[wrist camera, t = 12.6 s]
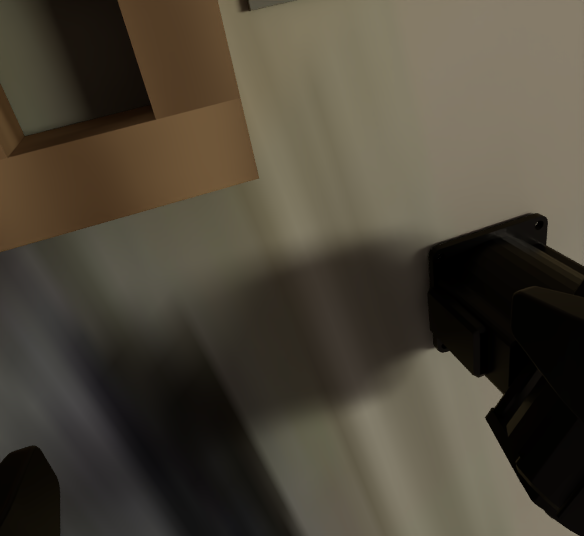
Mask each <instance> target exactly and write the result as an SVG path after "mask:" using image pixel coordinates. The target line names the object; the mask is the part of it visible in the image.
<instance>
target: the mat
mask: <svg viewBox="0 0 584 536" xmlns="http://www.w3.org/2000/svg"><path fill="white" fill-rule="evenodd" d="M290 1H295V0H247V3H248V8H249V11H251V10H256V9H260V8H264V7H269V6H273V5H277V4H282V3H286V2H290Z"/></svg>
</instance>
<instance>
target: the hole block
mask: <svg viewBox="0 0 584 536" xmlns="http://www.w3.org/2000/svg"><path fill="white" fill-rule="evenodd" d="M118 3H119V7H120V10H121V13H122V16H123V19H124V22H125V25H126V28H127V31H128V34H129V37H130V41H131V44H132V47H133V50H134V53H135V56H136V59H137V62H138V65H139V68H140V72H141V75H142V78H143V81H144V84H145V87H146V90H147V93H148V96H149V99H150V103H151V105H147V106H143V107H139V108H135V109H131V110H128V111H124V112H120V113H116V114H112V115H108V116H104V117H100V118H96V119H92V120H88V121H84V122H80V123H76V124H72V125H68V126H64V127H60V128H56V129H52V130H48V131H44V132H40V133H36V134H32V135H28V136H24V134H23V132H22V129H21V127H20V125H19V123H18V121H17V119H16V116H15V114H14V112H13V110H12V108H11V106H10V103H9V101H8V99H7V97H6V95H5V93H4V90H3V88H2V86H1V84H0V252H3V251H6V250H10V249H13V248H17V247H20V246H24V245H27V244H31V243H34V242H38V241H41V240H45V239H48V238H52V237H55V236H59V235H62V234H66V233H69V232H73V231H76V230H80V229H83V228H87V227H90V226H94V225H97V224H101V223H104V222H108V221H111V220H115V219H118V218H122V217H125V216H129V215H132V214H136V213H139V212H143V211H146V210H150V209H153V208H157V207H160V206H164V205H167V204H171V203H174V202H178V201H181V200H185V199H188V198H192V197H195V196H199V195H202V194H206V193H209V192H213V191H216V190H220V189H223V188H227V187H230V186H234V185H237V184H241V183H244V182H248V181H251V180H255V179H258V178H259V176H258V172H257V167H256V163H255V159H254V154H253V150H252V146H251V142H250V137H249V133H248V129H247V125H246V120H245V116H244V112H243V107H242V103H241V99H240V95H239V90H238V86H237V82H236V78H235V73H234V69H233V65H232V60H231V56H230V52H229V48H228V43H227V39H226V35H225V31H224V26H223V22H222V18H221V13H220V9H219V5H218V1H217V0H118Z"/></svg>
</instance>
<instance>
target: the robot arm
mask: <svg viewBox="0 0 584 536" xmlns="http://www.w3.org/2000/svg"><path fill="white" fill-rule="evenodd" d="M537 222H538V223H537ZM536 223H537V225H536V226H535V224H536ZM547 225H548V221H547V218H546V217H545V216H543V215H541V214H538V213H535V214H532V215H528V216H525V217H522V218H519V219H516V220H513V221H510V222H507V223H504V224H501V225H498V226H495V227H492V228H489V229H486V230H483V231H480V232H477V233H474V234H470V235H467V236H464V237H461V238H458V239H455V240H452V241H449V242H446V243H443V244H440V245H437V246H435V247H433V248H432V249H431V250H430V252H429V256H428V261H429V278H430V288H429V291H428V306H429V322H430V330H431V332H432V333H433V343H434V346H435V348H436V349H437V350H438V351H439V352H442V353H444V352H447V351H450V352H451V353H452V354H453V355H454V356H455V357H456V358H457V359H458V360H459V361H460V362H461V363H462V364H463V365H464V366H465V367H466V368H467V369H468V370H469V371H470V373H471V374H472V375H474V376H476V377H481V376H484V375H485V376H486V377H487V378H488V379H489V380H490V381H491V382H492V383H493V384H494V385H495V386H496V387H497V388H498V389H499V390H500V391H501V393H502V394H503V396H502V398H501V399H500V401H499V402H498V403H497V405H496V406H495V408H491V410H490V411H489V413H488V414H487V415H486V417H485V418H486V420H487V422H488V424H489V426H490V428H491V429H492V431H493V433H494V435H495V437H496V439H497V440H498V442H499V444H500V446H501V448H502V449H503V451H504V453H505V455H506V457H507V458H508V460H509V462H510V464H511V466H512V468H513V469H514V471H515V473H516V475H517V477H518V478H519V480H520V482H521V484H522V485H523V487H524V488H525V490H526V492H527V494H528V495H529V497H530V499H531V500H532V501H533V502H534V503H535V504H536V505H537V506H539V507H540V508H542V509H543V510H544V511H545V512H546V513H547V514H548V515H549V516H550V517H551V518H553V519H554V520H556V521H557V522H559V523H560V524H562V525H563V526H564V527H566V528H567V529H569V530H570V531H572V532H574V533H576V534H577V535H579V536H584V266H582V265H580V264H579V263H577V262H575V261H573V260H571V259H570V258H568V257H566V256H564V255H563V254H561V253H559V252H557V251H555V250H554V249H552V248H550V247H548V246H546V239H547ZM441 253H442V255H441V257H440V258H438V259H437V257H438V255H439V254H441ZM0 536H60V487H59V482H58V479H57V476H56V475H55V473H54V471H53V469H52V468H51V466H50V464H49V463H48V461H47V459H46V458H45V456H44V454H43V453H42V451H41V450H40V448H38V447H37V446H33V445H32V446H28V447H25V448H22V449H19V450H16V451H13V452H11V453H9V454H8V455H7V456H6V457H5V458H4V459H3V461H2V462H1V463H0Z"/></svg>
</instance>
